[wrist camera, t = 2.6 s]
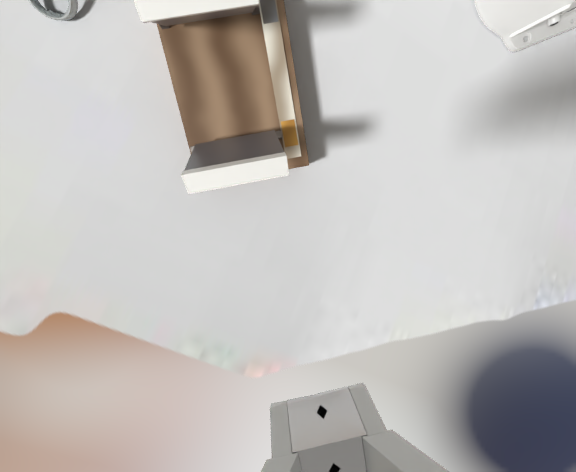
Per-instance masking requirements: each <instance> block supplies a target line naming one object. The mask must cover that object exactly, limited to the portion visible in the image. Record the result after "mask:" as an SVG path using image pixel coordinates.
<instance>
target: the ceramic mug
mask: <svg viewBox="0 0 576 472" xmlns="http://www.w3.org/2000/svg"><path fill="white" fill-rule="evenodd" d="M29 2H30V3H31V4H32V6H33V7H34V8H35V9H36V10H38V11H39V12H40V13H42V14H43V15H44V16H46V17H48V18H51V19H55V20H70V19H72V18H73V17H74V16H75V14H76V13H77V9H78V1H77V0H69V6H68V9H67V11H66V13H65V14H60V13H56V12H53V11H52V10H46V9H45V8H44V7H43V6H42V5H41V4H40V3H39V1H38V0H29Z"/></svg>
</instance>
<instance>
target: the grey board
mask: <svg viewBox="0 0 576 472" xmlns="http://www.w3.org/2000/svg"><path fill="white" fill-rule="evenodd" d="M288 175H289V170H288V163H287V156H286V153H285V152H284V150H283V148H282V146H281V144H280V141H279V139H278V137H277V135H276V132H275V130H272V131H266V132H261V133H255V134H250V135H244V136H239V137H233V138H227V139H222V140H216V141H211V142H205V143H200V144H195V146H194V149H193V151H192V154H191V156H190V158H189V161H188V163H187V166H186V168H185V170H184V171H183V172H182V174H181V176H182V179H183V181H184V184H185V186H186V189H187V191H188V194H193V193H198V192H203V191H209V190H214V189H219V188H225V187H230V186H235V185H240V184H246V183H251V182H256V181H262V180H267V179H272V178H277V177H283V176H288Z"/></svg>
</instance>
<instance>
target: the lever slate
mask: <svg viewBox="0 0 576 472" xmlns="http://www.w3.org/2000/svg"><path fill="white" fill-rule="evenodd" d="M134 3H135V6H136V8H137V11H138V14H139V17H140V20H141V22H143V23H147V22H153V23H156V24H160V25H164V26H170V25H176V24H183V23H189V22H195V21H202V20H208V19H215V18H221V17H227V16H234V15H240V14H246V13H253V11H254V9H255V7H256V5H259V0H134Z"/></svg>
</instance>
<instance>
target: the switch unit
mask: <svg viewBox="0 0 576 472" xmlns="http://www.w3.org/2000/svg"><path fill="white" fill-rule="evenodd" d="M157 27H158V30H159V34H160V38H161V42H162V46H163V49H164V53H165V57H166V61H167V65H168V68H169V72H170V76H171V80H172V84H173V88H174V91H175V95H176V99H177V103H178V107H179V110H180V114H181V118H182V122H183V126H184V129H185V133H186V137H187V141H188V145H189V149H190V152H191V154H192V151H193V149H194V146H195V144H200V143H205V142H211V141H216V140H222V139H227V138H233V137H239V136H244V135H250V134H255V133H261V132H266V131H272V130H275V132H276V135H277V137H278V139H279V141H280V144H281V146H282V148H283V150H284V152H285V153H286V156H287V163H288V169H291V168H297V167H302V166H307V165H309V160H308V154H307V148H306V141H305V135H304V128H303V122H302V115H301V109H300V102H299V96H298V89H297V83H296V77H295V70H294V64H293V57H292V51H291V44H290V38H289V31H288V25H287V19H286V12H285V6H284V0H259V5H256V7H255V9H254V11H253V13H246V14H240V15H234V16H227V17H221V18H215V19H208V20H202V21H195V22H189V23H183V24H176V25H170V26H164V25H160V24H157Z"/></svg>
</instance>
